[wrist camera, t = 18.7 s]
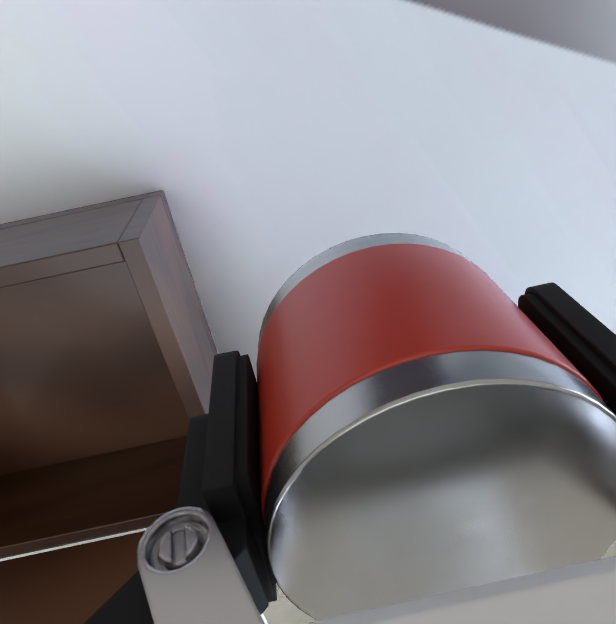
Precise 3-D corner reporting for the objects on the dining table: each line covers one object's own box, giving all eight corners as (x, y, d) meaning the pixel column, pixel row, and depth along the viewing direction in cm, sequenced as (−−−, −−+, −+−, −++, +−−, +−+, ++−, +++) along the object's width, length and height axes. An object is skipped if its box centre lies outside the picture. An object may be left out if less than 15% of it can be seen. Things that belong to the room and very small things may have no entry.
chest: (-170, 260, 27) (-289, 328, 21) (163, 189, 27) (138, 237, 21) (-12, 479, 35) (-65, 573, 29) (241, 426, 35) (240, 508, 29)
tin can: (498, 203, 11) (680, 334, 7) (497, 411, 15) (620, 601, 10) (226, 262, 11) (214, 434, 7) (284, 457, 15) (303, 669, 10)
